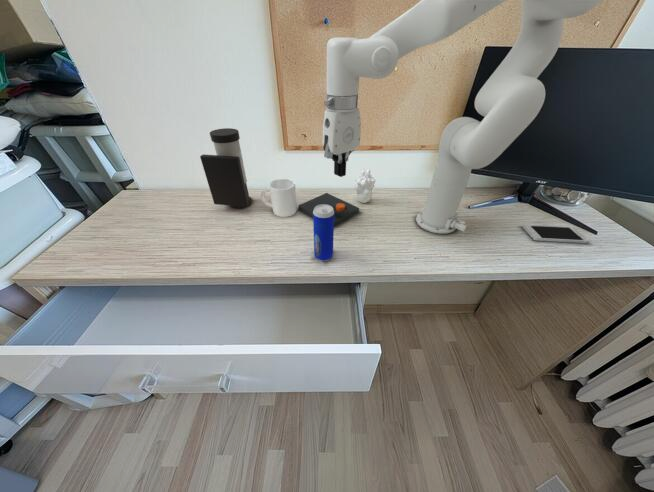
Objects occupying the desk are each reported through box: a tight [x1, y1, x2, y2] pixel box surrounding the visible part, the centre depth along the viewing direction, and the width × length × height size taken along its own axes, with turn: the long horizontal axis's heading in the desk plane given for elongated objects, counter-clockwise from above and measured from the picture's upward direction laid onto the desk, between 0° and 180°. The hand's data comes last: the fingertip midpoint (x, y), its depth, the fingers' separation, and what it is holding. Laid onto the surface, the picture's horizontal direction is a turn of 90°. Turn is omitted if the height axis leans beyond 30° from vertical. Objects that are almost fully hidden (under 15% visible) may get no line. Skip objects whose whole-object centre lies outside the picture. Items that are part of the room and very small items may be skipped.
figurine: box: [354, 168, 376, 204], centre depth 92 cm, size 7×7×12 cm
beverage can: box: [312, 204, 335, 262], centre depth 66 cm, size 5×5×15 cm
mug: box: [260, 178, 298, 218], centre depth 87 cm, size 12×8×10 cm
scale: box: [297, 192, 360, 227], centre depth 89 cm, size 16×14×4 cm
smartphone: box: [522, 224, 590, 244], centre depth 79 cm, size 7×15×1 cm, turn 86°
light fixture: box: [199, 127, 253, 210], centre depth 85 cm, size 12×11×25 cm
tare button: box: [336, 203, 345, 211], centre depth 85 cm, size 3×3×2 cm
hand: (339, 174), depth 74 cm, fingers closed
